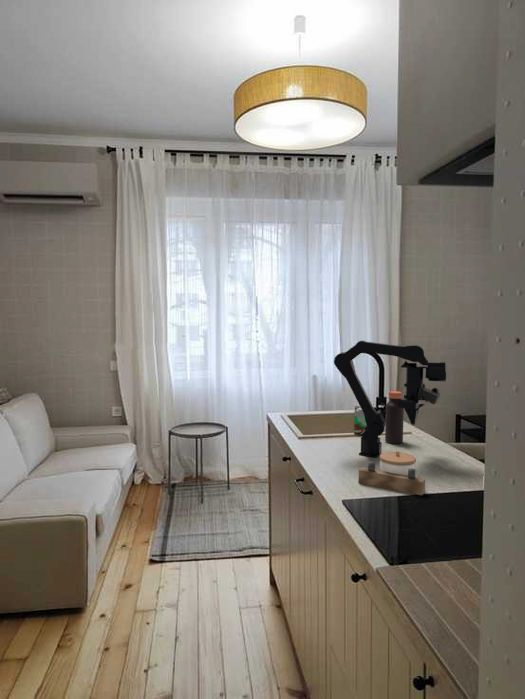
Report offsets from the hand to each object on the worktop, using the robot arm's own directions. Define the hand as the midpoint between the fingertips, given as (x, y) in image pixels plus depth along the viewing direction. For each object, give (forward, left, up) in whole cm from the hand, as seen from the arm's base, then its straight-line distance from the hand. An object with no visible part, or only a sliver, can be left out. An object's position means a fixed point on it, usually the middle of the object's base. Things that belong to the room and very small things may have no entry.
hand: (413, 424), depth 177 cm
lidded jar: (+3, -27, -12) cm, 30 cm away
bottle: (-12, +17, -12) cm, 24 cm away
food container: (-29, +26, -12) cm, 41 cm away
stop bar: (+3, -33, -12) cm, 35 cm away
